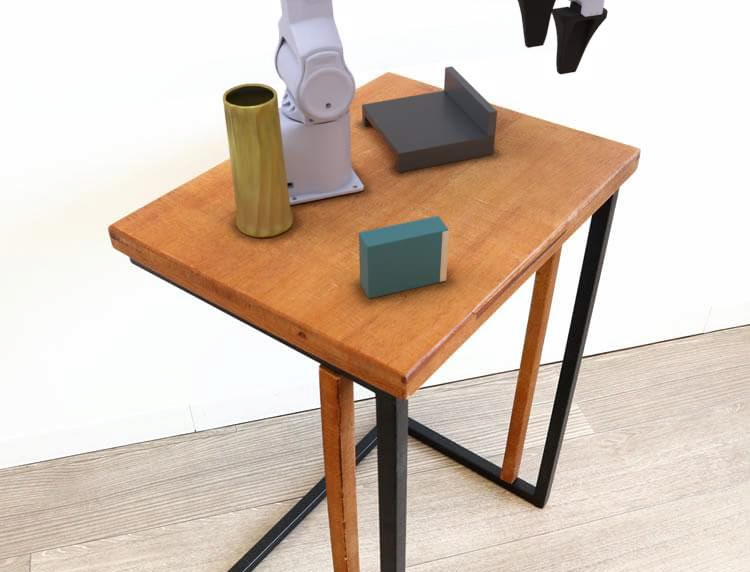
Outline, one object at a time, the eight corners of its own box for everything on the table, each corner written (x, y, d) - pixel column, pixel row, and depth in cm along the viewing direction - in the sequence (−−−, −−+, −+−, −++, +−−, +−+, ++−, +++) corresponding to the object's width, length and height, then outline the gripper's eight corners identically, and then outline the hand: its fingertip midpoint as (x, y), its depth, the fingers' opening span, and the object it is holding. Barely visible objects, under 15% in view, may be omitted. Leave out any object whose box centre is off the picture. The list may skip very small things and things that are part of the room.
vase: (224, 228, 89) (204, 100, 79) (258, 201, 93) (242, 76, 83) (272, 244, 87) (257, 115, 77) (304, 215, 91) (294, 89, 81)
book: (446, 281, 82) (449, 229, 78) (368, 299, 80) (367, 247, 76) (436, 266, 84) (438, 215, 80) (359, 283, 82) (358, 231, 78)
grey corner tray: (398, 173, 97) (399, 128, 93) (362, 123, 106) (361, 81, 102) (493, 154, 100) (497, 111, 96) (450, 107, 109) (452, 66, 105)
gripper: (640, -56, 82) (614, 78, 91) (567, -96, 92) (550, 30, 101) (576, -48, 80) (557, 89, 90) (509, -89, 90) (497, 38, 100)
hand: (549, 58), depth 95 cm, fingers open, 7 cm apart
